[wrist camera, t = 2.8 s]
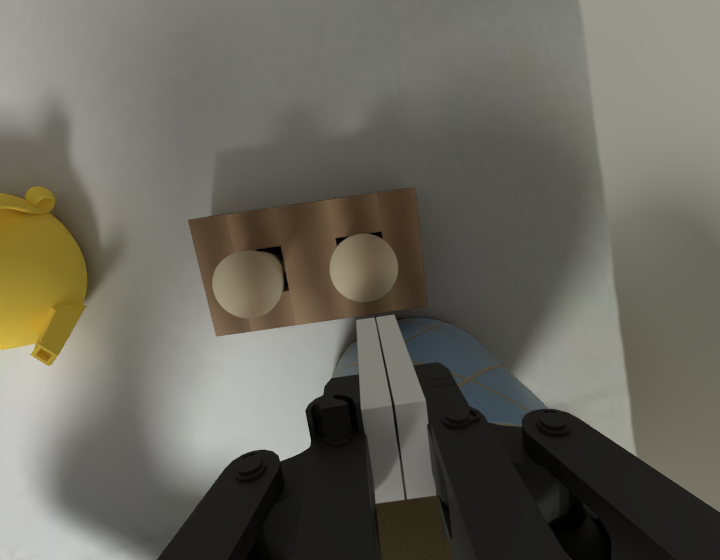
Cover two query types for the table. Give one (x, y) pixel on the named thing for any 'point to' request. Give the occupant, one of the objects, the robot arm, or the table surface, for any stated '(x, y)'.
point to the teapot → (38, 275)
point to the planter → (482, 391)
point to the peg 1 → (249, 282)
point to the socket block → (314, 255)
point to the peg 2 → (363, 267)
